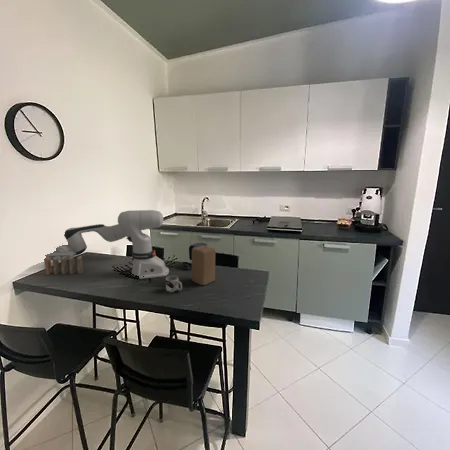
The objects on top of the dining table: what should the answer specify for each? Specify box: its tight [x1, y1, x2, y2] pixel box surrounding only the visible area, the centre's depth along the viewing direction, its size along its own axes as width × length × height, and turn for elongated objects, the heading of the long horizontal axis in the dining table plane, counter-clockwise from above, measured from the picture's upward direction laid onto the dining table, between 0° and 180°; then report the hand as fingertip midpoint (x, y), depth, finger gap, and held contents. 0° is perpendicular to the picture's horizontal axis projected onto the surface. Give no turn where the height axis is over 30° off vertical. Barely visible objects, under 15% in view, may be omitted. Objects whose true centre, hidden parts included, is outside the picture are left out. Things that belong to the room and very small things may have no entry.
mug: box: [165, 275, 183, 293], centre depth 149 cm, size 10×7×7 cm
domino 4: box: [68, 256, 76, 275], centre depth 169 cm, size 2×4×10 cm, turn 8°
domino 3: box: [60, 256, 69, 275], centre depth 169 cm, size 2×4×10 cm, turn 8°
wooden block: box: [191, 245, 216, 286], centre depth 159 cm, size 10×10×20 cm
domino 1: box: [44, 257, 53, 276], centre depth 168 cm, size 2×4×10 cm, turn 7°
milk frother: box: [181, 242, 208, 271], centre depth 182 cm, size 14×16×15 cm
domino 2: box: [51, 257, 61, 276], centre depth 168 cm, size 2×4×10 cm, turn 8°
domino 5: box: [76, 255, 84, 275], centre depth 170 cm, size 2×4×10 cm, turn 8°
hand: (50, 260), depth 172 cm, fingers open, 3 cm apart
